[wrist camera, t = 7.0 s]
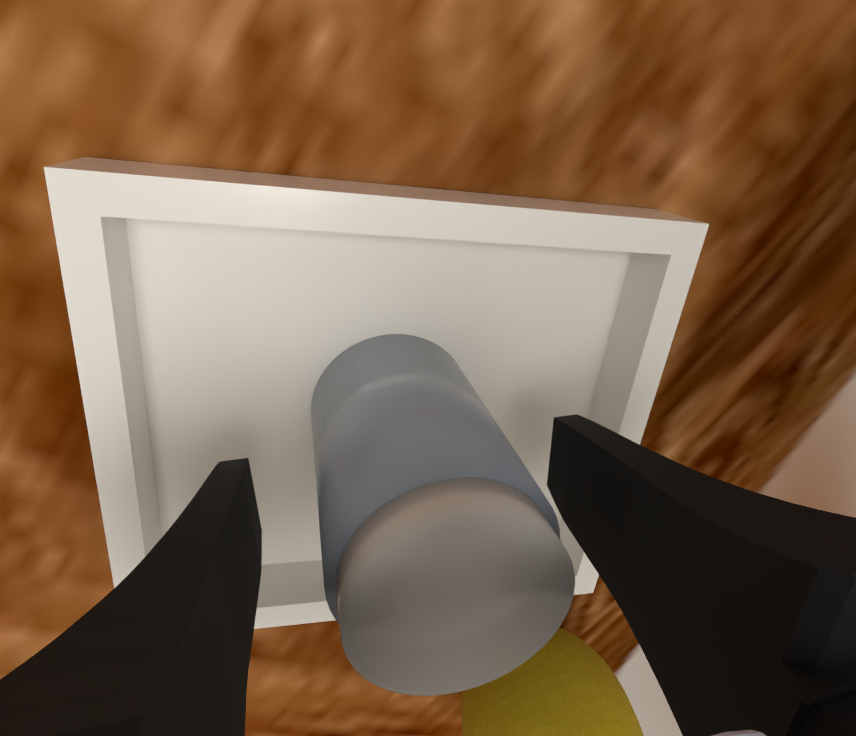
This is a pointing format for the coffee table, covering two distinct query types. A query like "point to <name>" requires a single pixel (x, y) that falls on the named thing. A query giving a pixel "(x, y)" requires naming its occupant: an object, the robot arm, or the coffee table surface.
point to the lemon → (552, 696)
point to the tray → (338, 330)
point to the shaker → (429, 524)
